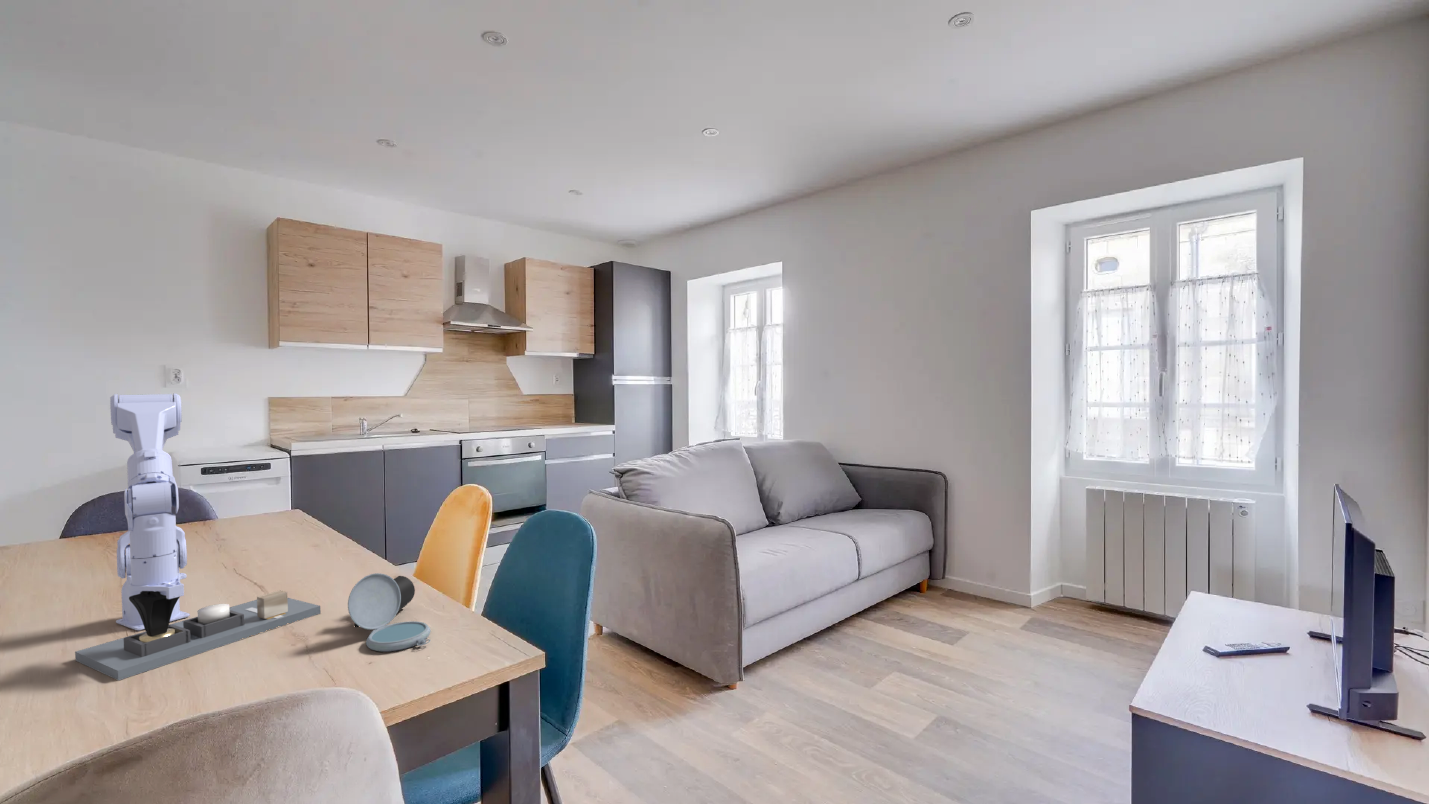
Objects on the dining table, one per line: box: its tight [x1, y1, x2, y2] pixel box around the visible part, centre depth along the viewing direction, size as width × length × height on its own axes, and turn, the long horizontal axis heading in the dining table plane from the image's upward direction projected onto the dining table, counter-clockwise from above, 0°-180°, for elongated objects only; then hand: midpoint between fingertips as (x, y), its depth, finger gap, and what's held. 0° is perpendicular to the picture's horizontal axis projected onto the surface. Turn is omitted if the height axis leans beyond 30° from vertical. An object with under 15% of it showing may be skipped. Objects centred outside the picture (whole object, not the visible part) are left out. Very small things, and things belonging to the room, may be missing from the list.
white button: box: [197, 603, 230, 624], centre depth 108 cm, size 4×4×2 cm
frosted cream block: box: [256, 589, 288, 619], centre depth 114 cm, size 2×4×4 cm, turn 153°
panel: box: [74, 597, 322, 681], centre depth 109 cm, size 16×30×4 cm, turn 153°
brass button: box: [139, 628, 175, 643], centre depth 101 cm, size 4×4×2 cm
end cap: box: [353, 575, 416, 628], centre depth 116 cm, size 10×7×7 cm
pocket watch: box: [347, 572, 432, 653], centre depth 105 cm, size 10×11×15 cm
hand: (157, 634), depth 101 cm, fingers closed, pressing on brass button
